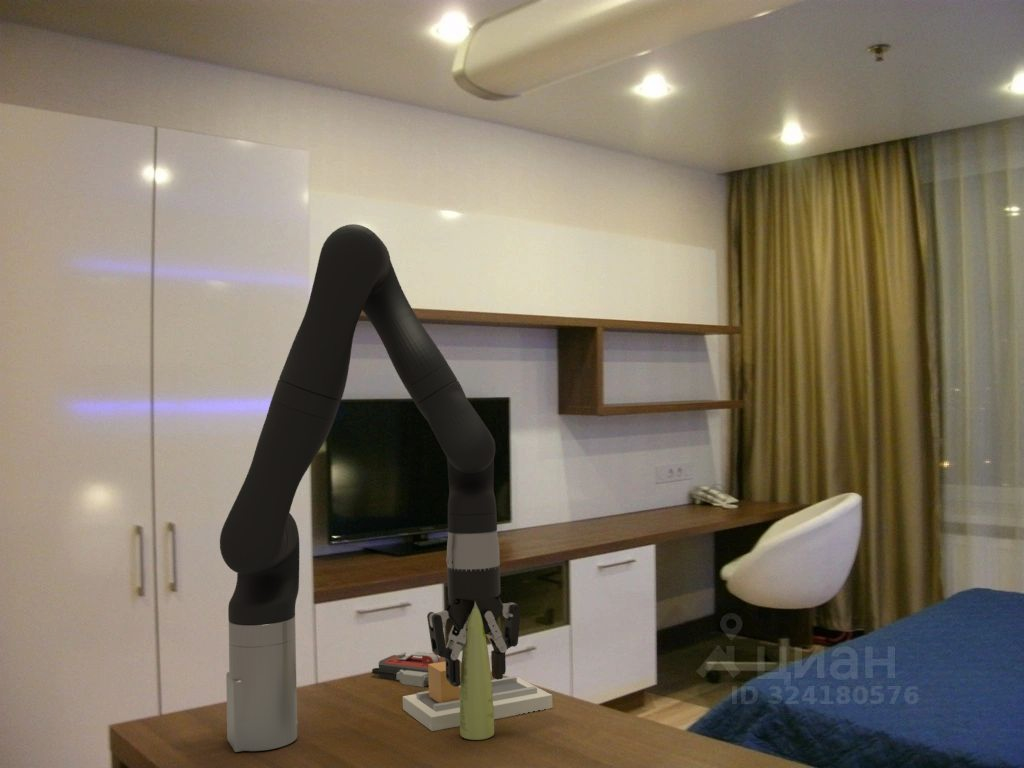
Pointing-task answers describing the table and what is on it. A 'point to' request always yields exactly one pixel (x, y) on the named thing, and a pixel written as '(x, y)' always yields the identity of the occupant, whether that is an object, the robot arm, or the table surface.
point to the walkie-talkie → (407, 668)
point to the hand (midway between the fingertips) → (476, 681)
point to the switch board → (507, 701)
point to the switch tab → (441, 684)
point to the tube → (476, 683)
